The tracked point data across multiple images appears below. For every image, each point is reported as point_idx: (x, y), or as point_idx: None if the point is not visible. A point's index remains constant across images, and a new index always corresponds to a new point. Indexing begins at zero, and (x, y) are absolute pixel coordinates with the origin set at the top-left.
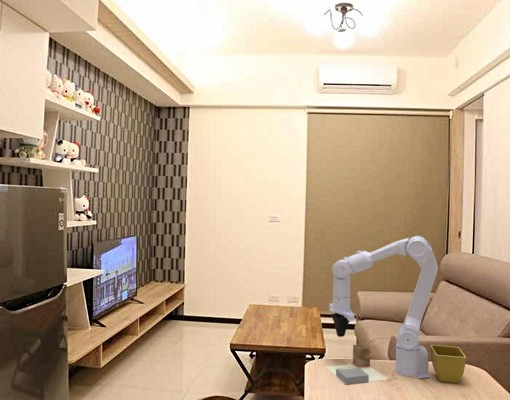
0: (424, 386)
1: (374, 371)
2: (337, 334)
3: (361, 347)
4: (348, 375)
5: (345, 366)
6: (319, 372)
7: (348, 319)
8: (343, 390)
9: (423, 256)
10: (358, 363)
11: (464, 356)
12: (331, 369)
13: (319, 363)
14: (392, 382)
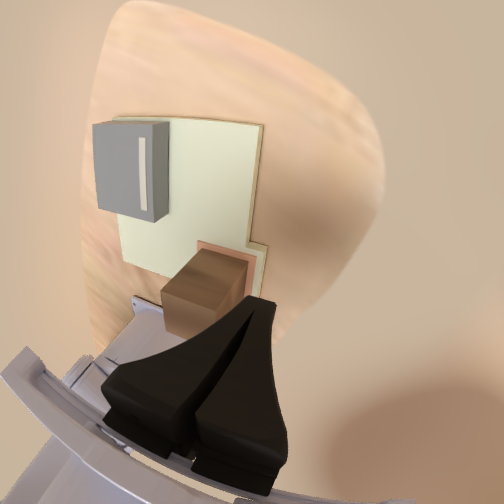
0: (112, 303)
1: (169, 270)
2: (260, 304)
3: (177, 313)
4: (102, 141)
5: (232, 212)
6: (250, 85)
7: (24, 355)
8: (109, 104)
9: None
10: (198, 256)
11: None
12: (224, 134)
13: (343, 145)
14: (129, 266)
